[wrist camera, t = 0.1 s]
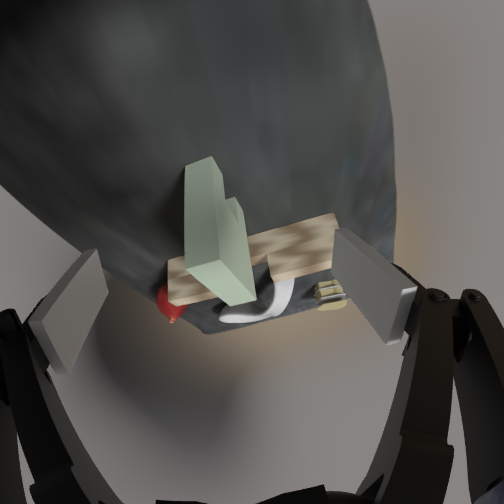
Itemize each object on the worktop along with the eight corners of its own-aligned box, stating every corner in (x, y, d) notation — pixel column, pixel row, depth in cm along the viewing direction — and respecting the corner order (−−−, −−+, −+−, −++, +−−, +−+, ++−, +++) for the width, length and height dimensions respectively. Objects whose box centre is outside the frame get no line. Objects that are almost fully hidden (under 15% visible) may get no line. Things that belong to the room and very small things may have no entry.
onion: (189, 273, 48) (191, 317, 44) (186, 287, 53) (188, 327, 49) (156, 272, 46) (156, 317, 42) (156, 286, 51) (156, 327, 47)
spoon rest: (255, 310, 71) (259, 337, 67) (211, 309, 66) (213, 338, 62) (307, 266, 53) (316, 301, 49) (251, 261, 48) (257, 300, 44)
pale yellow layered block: (302, 293, 65) (307, 315, 63) (312, 276, 58) (318, 301, 55) (340, 288, 67) (346, 309, 64) (354, 272, 59) (361, 294, 56)
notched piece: (185, 165, 28) (185, 269, 22) (211, 155, 27) (219, 259, 21) (220, 217, 36) (230, 306, 30) (242, 211, 36) (256, 300, 30)
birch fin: (175, 266, 45) (176, 306, 42) (167, 260, 43) (168, 301, 40) (334, 221, 41) (348, 262, 37) (333, 212, 39) (348, 255, 35)
